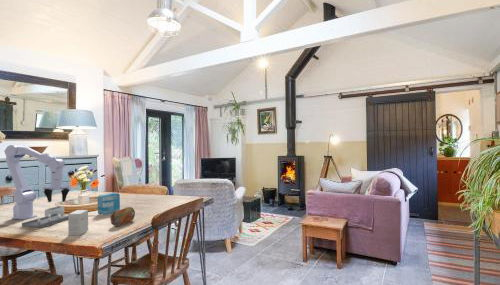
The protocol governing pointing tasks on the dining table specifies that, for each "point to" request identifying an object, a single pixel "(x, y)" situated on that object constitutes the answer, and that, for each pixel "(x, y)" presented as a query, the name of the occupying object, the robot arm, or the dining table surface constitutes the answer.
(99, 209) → the blue box
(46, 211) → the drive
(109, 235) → the dining table surface
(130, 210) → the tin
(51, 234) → the dining table surface
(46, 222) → the pin tray
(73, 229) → the small box
